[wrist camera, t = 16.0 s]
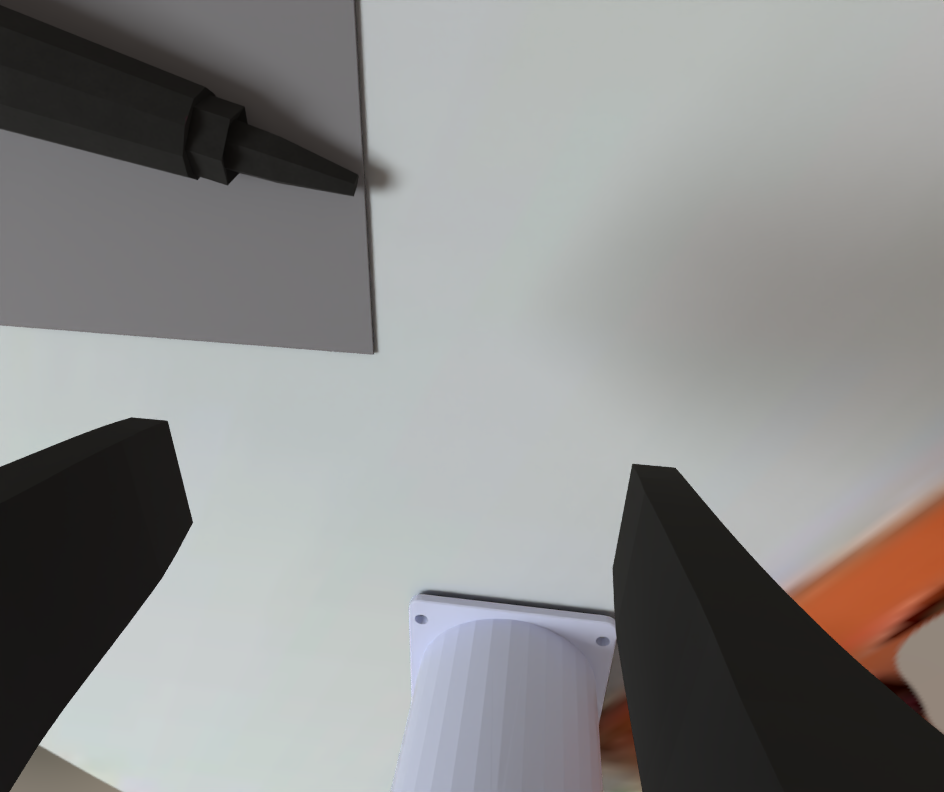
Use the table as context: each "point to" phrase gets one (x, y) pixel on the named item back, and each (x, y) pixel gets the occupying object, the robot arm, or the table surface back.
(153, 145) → the microphone
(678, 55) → the table surface
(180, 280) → the charcoal mat
